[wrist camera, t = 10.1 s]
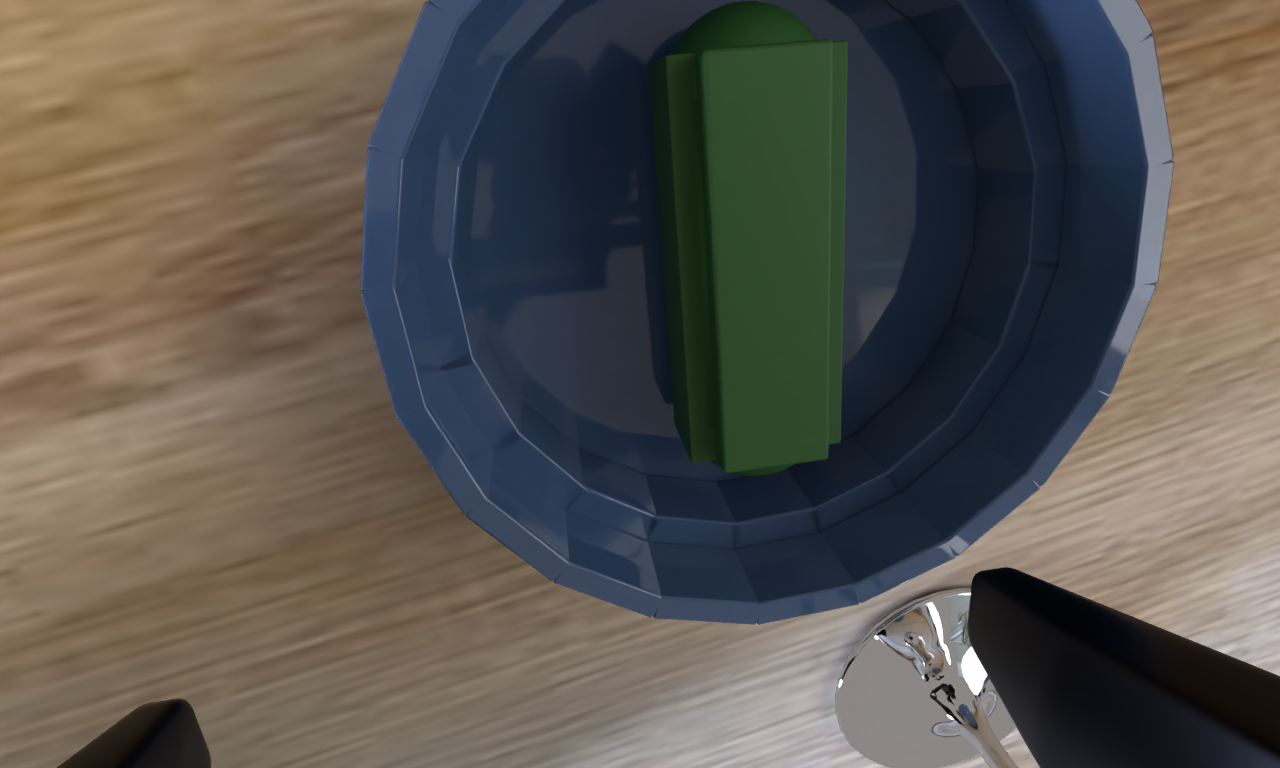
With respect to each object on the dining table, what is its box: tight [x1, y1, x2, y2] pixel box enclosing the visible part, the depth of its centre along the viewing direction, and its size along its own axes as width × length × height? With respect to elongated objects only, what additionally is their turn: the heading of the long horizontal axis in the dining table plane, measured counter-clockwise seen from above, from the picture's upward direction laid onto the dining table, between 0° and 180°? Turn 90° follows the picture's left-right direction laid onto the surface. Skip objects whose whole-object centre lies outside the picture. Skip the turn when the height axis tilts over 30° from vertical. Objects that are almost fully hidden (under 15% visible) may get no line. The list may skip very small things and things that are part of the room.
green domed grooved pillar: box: [648, 1, 848, 476], centre depth 16 cm, size 10×4×4 cm, turn 5°
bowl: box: [360, 0, 1174, 625], centre depth 16 cm, size 15×15×5 cm
